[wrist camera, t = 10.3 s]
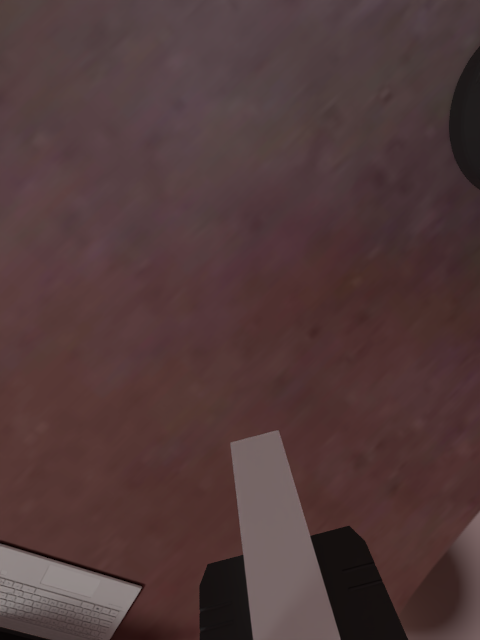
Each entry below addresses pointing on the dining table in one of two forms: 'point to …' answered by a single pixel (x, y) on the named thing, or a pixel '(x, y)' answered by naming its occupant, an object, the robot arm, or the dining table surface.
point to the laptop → (58, 599)
